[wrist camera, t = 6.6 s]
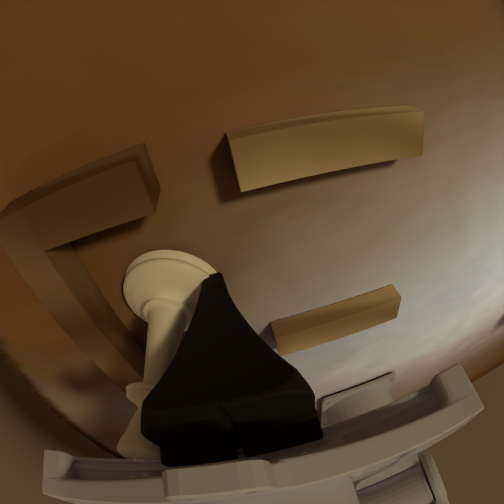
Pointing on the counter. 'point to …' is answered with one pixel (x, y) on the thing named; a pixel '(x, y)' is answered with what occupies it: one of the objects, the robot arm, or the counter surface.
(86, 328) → the stop rail
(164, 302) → the chess piece
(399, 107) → the pocket channel
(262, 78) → the counter surface
